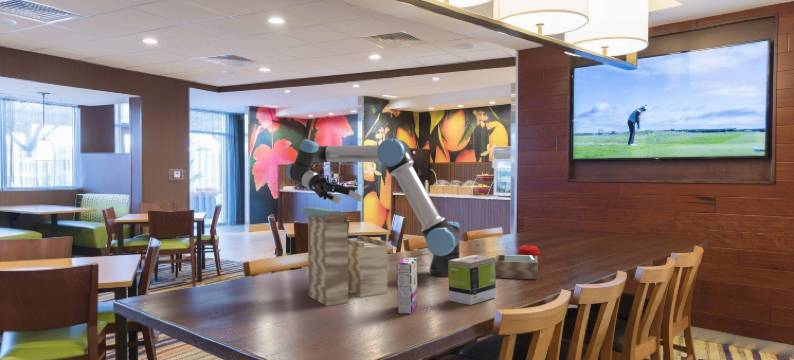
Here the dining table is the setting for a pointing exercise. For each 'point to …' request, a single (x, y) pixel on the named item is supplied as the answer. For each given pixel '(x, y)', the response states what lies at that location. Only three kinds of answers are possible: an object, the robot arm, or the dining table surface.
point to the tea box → (472, 279)
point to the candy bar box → (407, 285)
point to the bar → (317, 212)
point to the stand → (328, 258)
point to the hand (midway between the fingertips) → (350, 199)
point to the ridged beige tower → (367, 266)
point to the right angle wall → (519, 258)
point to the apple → (529, 250)
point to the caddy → (515, 268)
